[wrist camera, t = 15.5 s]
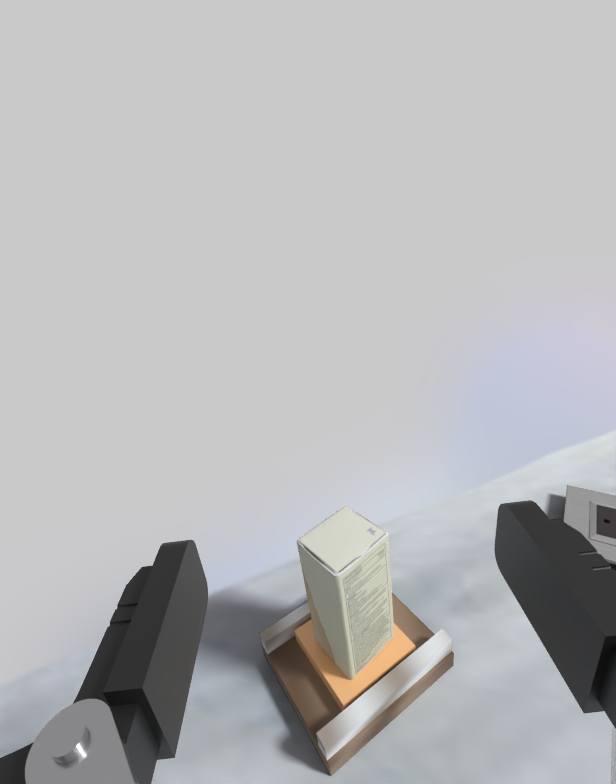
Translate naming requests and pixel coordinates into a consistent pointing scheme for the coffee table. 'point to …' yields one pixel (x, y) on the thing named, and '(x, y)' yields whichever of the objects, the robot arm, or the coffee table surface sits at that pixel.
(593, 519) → the electrical outlet
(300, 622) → the rail board
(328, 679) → the plate
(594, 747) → the coffee table surface
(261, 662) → the coffee table surface
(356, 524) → the box
